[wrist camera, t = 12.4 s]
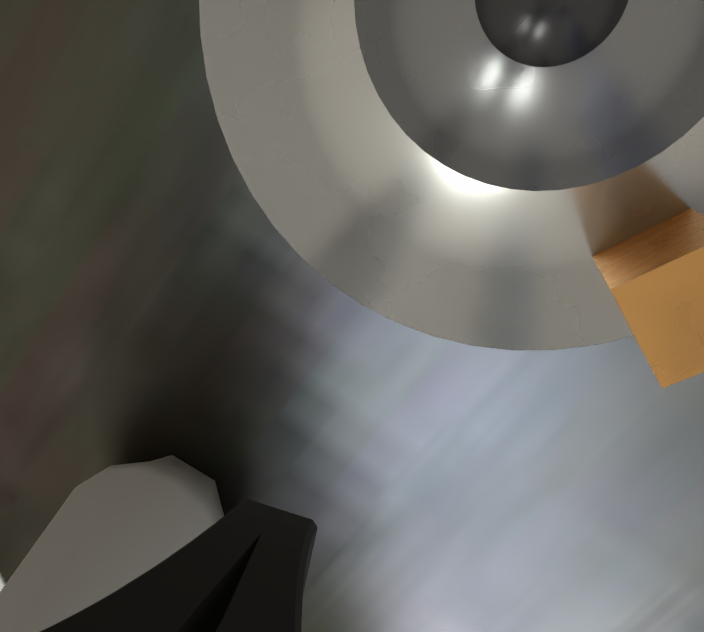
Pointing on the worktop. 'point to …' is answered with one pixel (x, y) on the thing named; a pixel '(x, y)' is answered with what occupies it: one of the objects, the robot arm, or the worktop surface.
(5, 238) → the worktop surface
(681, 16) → the cover
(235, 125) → the turntable
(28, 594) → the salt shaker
